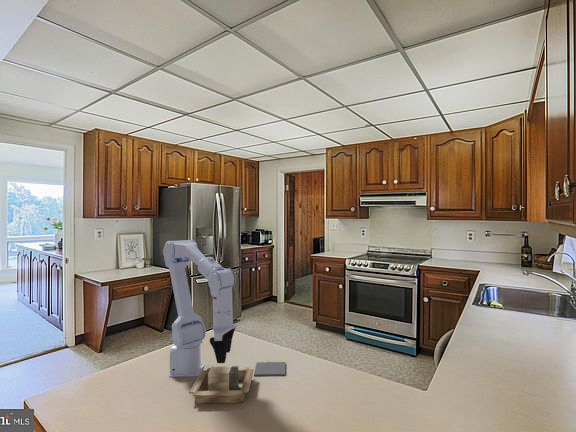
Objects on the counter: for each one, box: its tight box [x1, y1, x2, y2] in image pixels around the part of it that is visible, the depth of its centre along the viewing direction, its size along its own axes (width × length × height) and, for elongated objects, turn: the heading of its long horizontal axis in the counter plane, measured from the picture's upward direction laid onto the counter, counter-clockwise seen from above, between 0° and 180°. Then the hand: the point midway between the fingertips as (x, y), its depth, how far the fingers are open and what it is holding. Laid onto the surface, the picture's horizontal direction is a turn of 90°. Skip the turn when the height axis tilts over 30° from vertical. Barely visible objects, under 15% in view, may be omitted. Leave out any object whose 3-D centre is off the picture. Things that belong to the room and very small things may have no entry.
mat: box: [253, 361, 286, 377], centre depth 107 cm, size 10×9×1 cm
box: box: [207, 365, 240, 391], centre depth 94 cm, size 8×4×6 cm, turn 90°
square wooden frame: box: [188, 366, 255, 404], centre depth 94 cm, size 16×16×3 cm
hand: (223, 357), depth 94 cm, fingers open, 7 cm apart
